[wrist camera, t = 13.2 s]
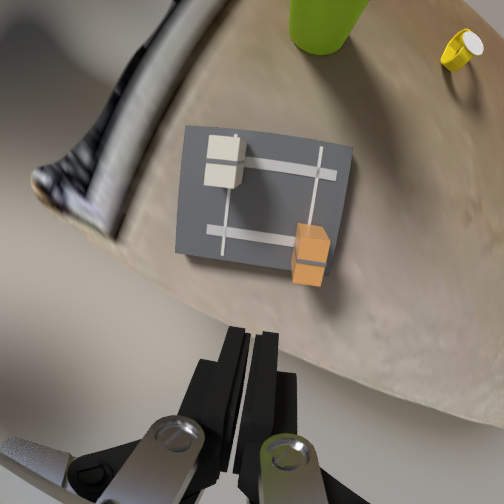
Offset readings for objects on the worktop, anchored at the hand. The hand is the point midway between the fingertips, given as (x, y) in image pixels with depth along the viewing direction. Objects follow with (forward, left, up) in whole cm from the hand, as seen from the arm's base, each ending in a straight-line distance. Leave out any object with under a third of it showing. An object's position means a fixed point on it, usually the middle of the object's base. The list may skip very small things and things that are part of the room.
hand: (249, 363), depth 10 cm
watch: (-18, -23, -23) cm, 37 cm away
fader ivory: (+4, -6, -20) cm, 21 cm away
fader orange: (-4, +1, -20) cm, 20 cm away
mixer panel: (+1, -2, -22) cm, 22 cm away
